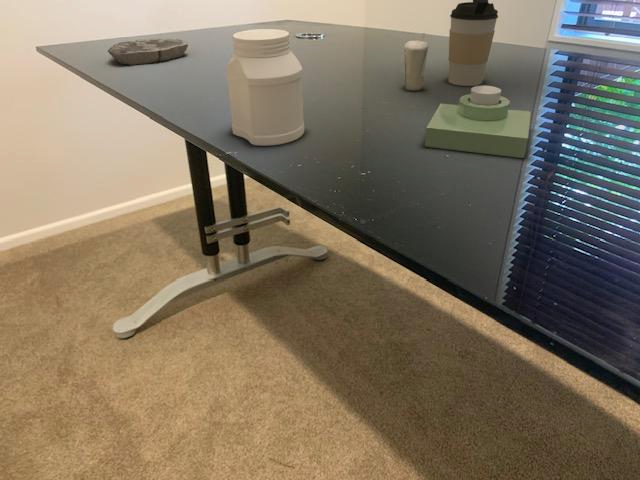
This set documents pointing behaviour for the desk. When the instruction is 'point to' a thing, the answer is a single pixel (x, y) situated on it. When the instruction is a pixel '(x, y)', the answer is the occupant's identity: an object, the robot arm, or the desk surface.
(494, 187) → the desk surface
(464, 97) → the panel
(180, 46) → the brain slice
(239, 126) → the jar
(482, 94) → the flush button
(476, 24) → the coffee cup
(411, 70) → the milkshake
